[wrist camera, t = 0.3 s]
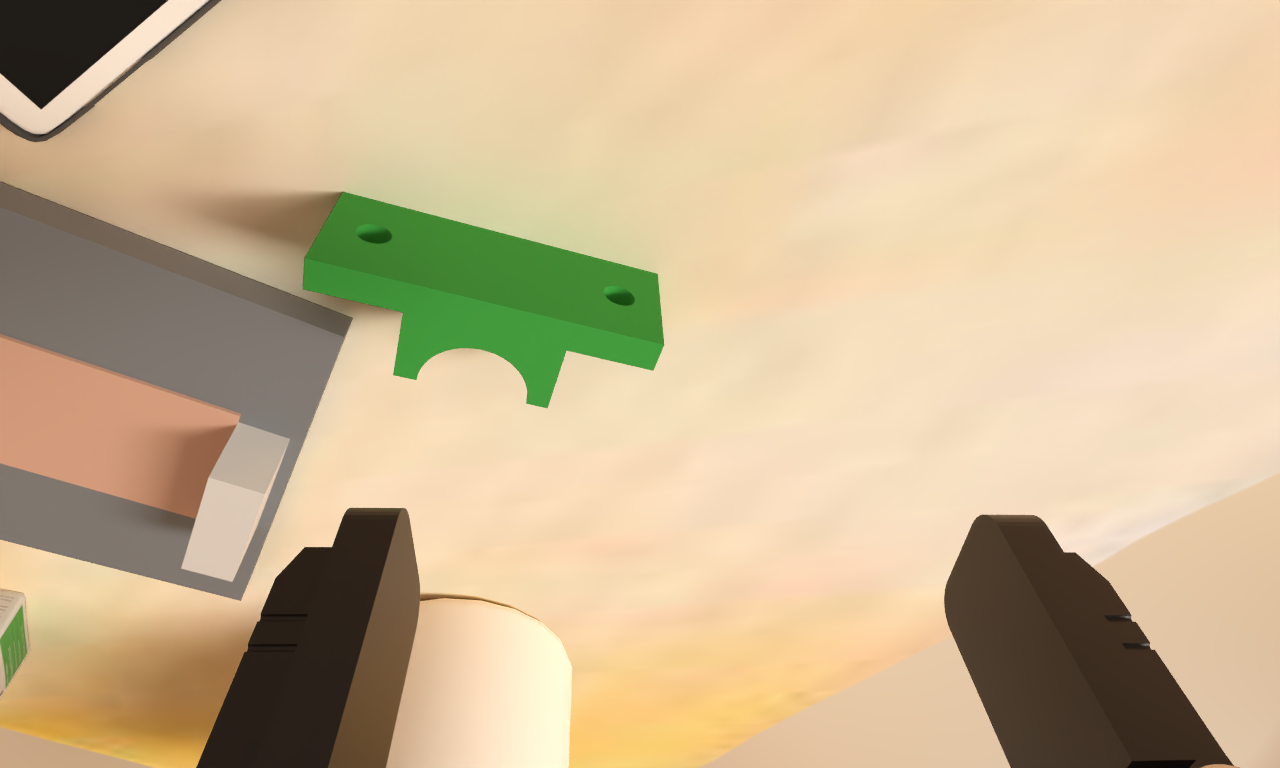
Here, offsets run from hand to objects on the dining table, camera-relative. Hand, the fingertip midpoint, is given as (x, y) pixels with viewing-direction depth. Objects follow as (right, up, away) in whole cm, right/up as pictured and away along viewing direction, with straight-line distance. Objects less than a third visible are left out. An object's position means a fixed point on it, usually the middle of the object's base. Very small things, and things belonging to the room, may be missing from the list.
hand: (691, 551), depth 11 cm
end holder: (-24, +2, +20) cm, 31 cm away
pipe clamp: (-6, +7, +17) cm, 20 cm away
